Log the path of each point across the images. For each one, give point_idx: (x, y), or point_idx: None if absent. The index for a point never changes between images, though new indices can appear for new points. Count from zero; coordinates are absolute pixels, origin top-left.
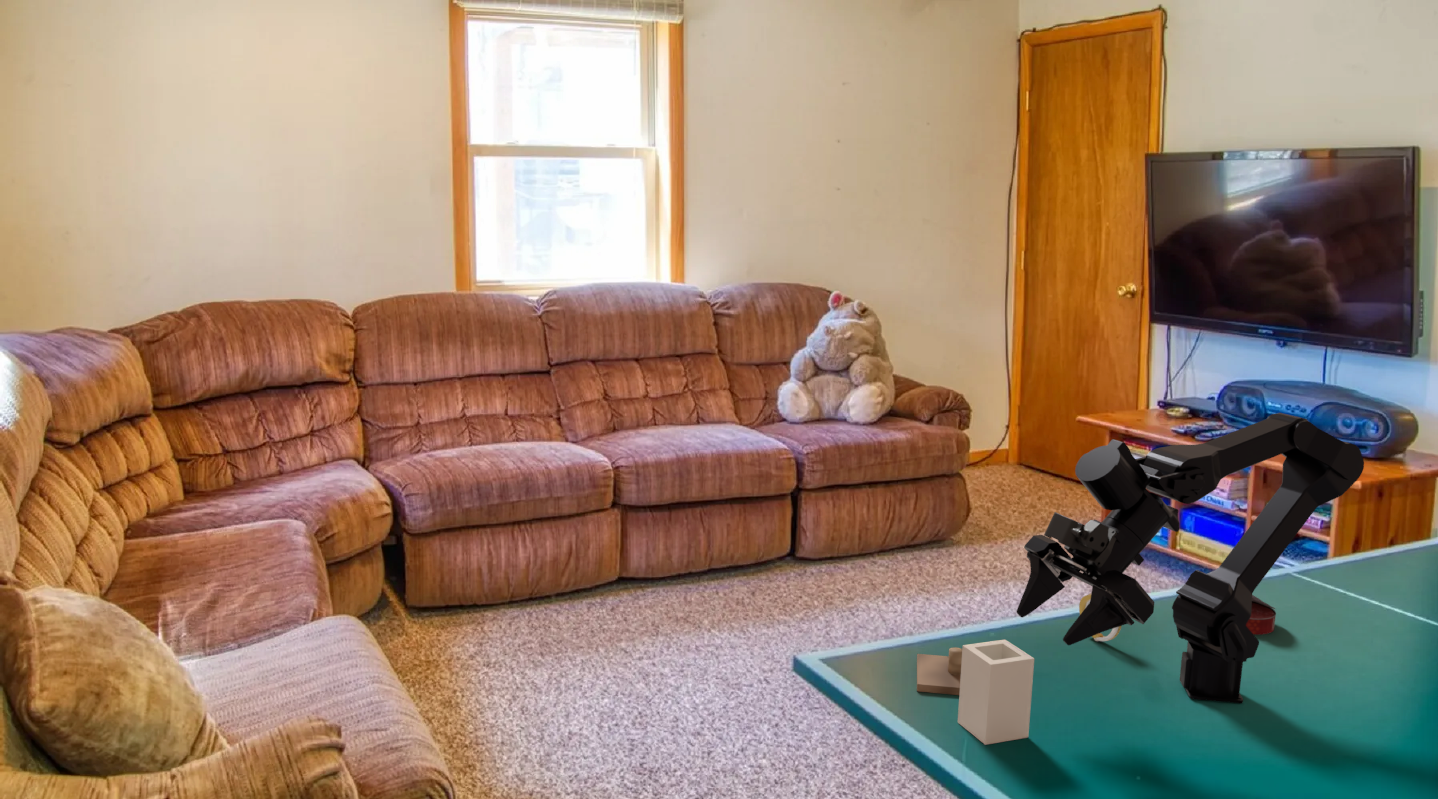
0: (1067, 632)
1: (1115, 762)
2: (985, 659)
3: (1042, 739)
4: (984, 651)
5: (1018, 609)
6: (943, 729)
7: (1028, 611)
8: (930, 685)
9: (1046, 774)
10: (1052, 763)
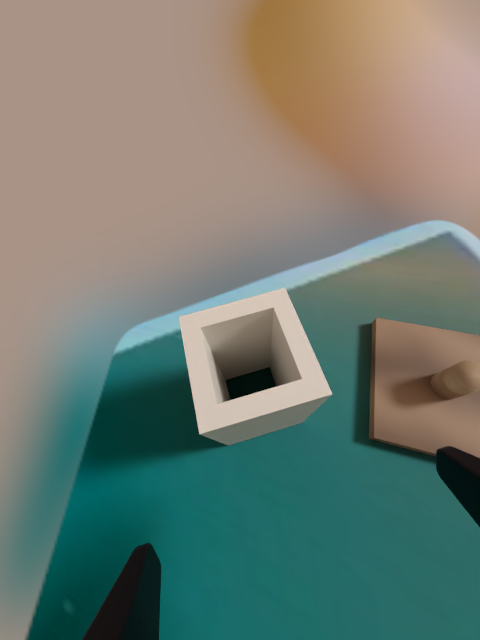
0: (132, 579)
1: None
2: (207, 313)
3: (220, 468)
4: (282, 337)
5: (454, 452)
6: None
7: (470, 508)
8: (375, 334)
9: (122, 431)
10: (147, 453)
